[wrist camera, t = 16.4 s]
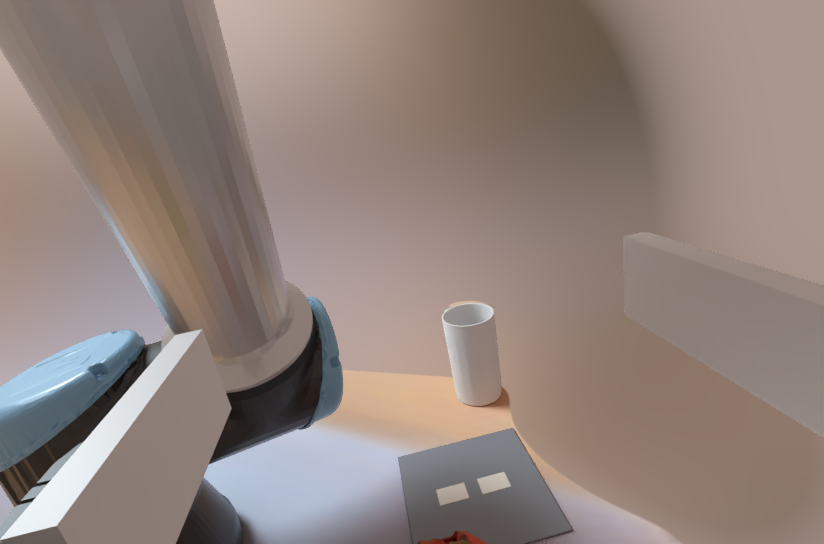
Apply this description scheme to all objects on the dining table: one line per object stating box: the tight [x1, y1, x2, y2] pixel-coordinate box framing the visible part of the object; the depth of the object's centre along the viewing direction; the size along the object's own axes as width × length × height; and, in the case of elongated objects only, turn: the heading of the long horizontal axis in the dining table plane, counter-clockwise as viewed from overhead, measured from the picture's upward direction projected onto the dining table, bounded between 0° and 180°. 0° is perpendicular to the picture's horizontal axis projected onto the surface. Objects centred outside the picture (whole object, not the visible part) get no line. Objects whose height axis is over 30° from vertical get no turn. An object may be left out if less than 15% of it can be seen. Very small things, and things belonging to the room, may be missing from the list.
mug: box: [442, 303, 502, 406], centre depth 58 cm, size 10×7×12 cm, turn 26°
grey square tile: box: [398, 428, 573, 544], centre depth 43 cm, size 14×14×1 cm
